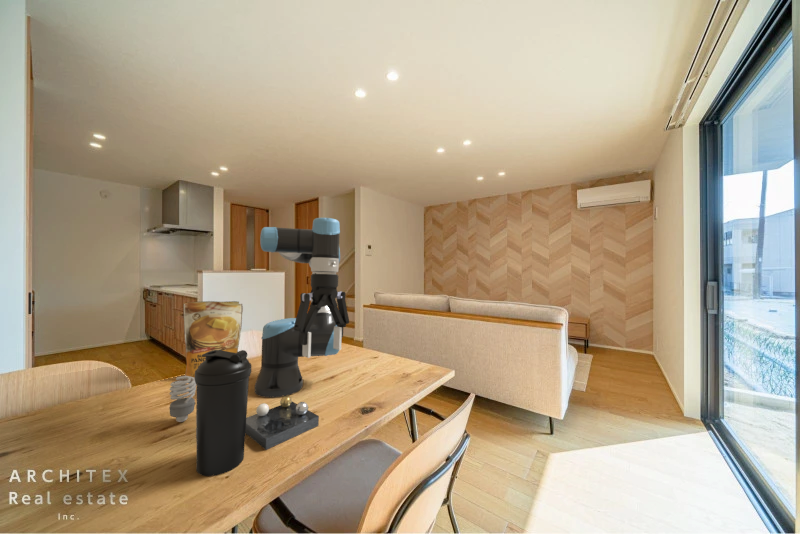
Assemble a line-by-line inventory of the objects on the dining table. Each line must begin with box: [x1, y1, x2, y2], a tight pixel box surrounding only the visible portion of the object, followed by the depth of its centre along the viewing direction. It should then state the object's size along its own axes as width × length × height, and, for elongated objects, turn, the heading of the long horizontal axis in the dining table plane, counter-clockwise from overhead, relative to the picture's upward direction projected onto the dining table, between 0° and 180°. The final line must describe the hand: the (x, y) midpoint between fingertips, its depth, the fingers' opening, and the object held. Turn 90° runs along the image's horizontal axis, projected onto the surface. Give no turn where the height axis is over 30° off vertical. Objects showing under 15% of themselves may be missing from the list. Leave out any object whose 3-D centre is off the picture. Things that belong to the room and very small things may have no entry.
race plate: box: [245, 401, 320, 451], centre depth 75 cm, size 13×14×2 cm
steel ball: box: [295, 401, 309, 415], centre depth 77 cm, size 3×3×3 cm
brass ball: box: [279, 395, 293, 407], centre depth 81 cm, size 3×3×3 cm
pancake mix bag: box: [182, 300, 244, 381], centre depth 109 cm, size 7×19×28 cm, turn 115°
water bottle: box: [194, 349, 252, 477], centre depth 61 cm, size 10×10×23 cm
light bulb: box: [168, 375, 197, 423], centre depth 76 cm, size 6×6×12 cm
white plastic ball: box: [256, 403, 270, 416], centre depth 76 cm, size 3×3×3 cm
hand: (322, 352), depth 82 cm, fingers open, 10 cm apart
